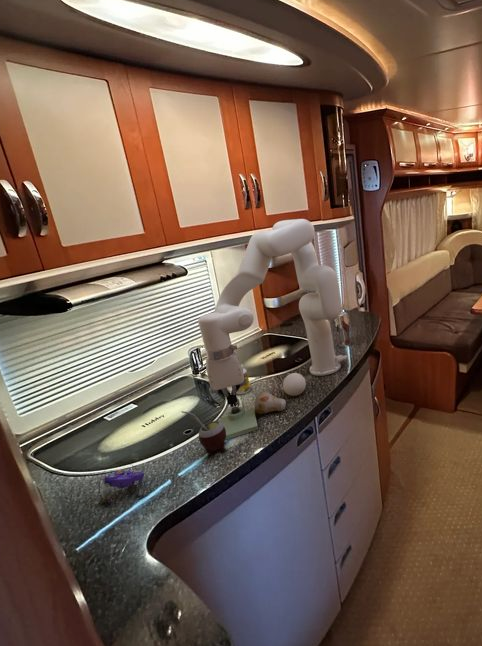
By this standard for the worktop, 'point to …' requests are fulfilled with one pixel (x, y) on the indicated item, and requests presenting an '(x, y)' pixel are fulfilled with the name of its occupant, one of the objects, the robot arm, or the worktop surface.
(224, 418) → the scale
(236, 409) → the tare button
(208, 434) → the mate gourd
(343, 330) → the beer glass
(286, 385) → the ball
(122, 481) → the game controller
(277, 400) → the beige lumpy tapered piece
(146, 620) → the worktop surface
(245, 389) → the supplement bottle
